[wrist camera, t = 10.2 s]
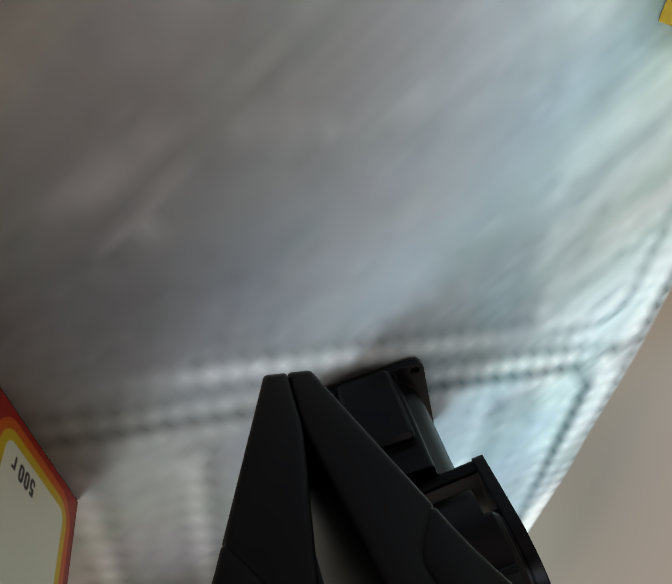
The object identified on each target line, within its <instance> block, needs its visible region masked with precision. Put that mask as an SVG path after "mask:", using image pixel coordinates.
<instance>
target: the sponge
mask: <svg viewBox="0 0 672 584" xmlns="http://www.w3.org/2000/svg"><path fill="white" fill-rule="evenodd" d="M659 21H660V22H662V23H665V24H668V25H671V26H672V0H667V1H666V3H665V6H664V8H663V11H662V13H661V16H660V18H659Z"/></svg>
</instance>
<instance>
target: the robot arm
mask: <svg viewBox="0 0 672 584" xmlns="http://www.w3.org/2000/svg"><path fill="white" fill-rule="evenodd" d="M413 367H414V368H413ZM222 545H223V547H222V548H221V550H220V554H219V558H218V562H217V566H216V570H215V574H214V577H213V581H212V584H551V583H550V580H549V578H548V575H547V573H546V571H545V568H544V566H543V564H542V562H541V560H540V557H539V555H538V553H537V551H536V549H535V547H534V545H533V543H532V541H531V539H530V537H529V535H528V533H527V531H526V529H525V527H524V525H523V524H522V522H521V520H520V518H519V516H518V515H517V513H516V511H515V510H514V508H513V506H512V505H511V503H510V501H509V499H508V498H507V496H506V494H505V493H504V491H503V489H502V488H501V486H500V484H499V482H498V481H497V479H496V477H495V476H494V474H493V472H492V471H491V469H490V467H489V465H488V464H487V462H486V460H485V459H484V457H483V455H480V456H477V457H475V458H473V459H472V461H471V462H468V463H466V464H463V465H461V466H459V467H456V468H454V466H453V464H452V462H451V460H450V458H449V456H448V454H447V451H446V449H445V447H444V445H443V443H442V441H441V439H440V436H439V434H438V432H437V430H436V428H435V426H434V422H433V417H432V411H431V406H430V400H429V395H428V389H427V384H426V378H425V372H424V367H423V365H422V363H421V361H420V360H419V359H418V358H412V359H409V360H406V361H403V362H400V363H397V364H394V365H391V366H388V367H385V368H382V369H379V370H377V371H374V372H371V373H368V374H365V375H362V376H359V377H356V378H353V379H350V380H347V381H345V382H342V383H339V384H336V385H333V386H330V387H327V388H326V387H325V386H324V385H323V384H322V383H321V381H320V380H319V379H318V378H317V377H316V376H315V375H314V374H313V373H312V372H311V371H300V372H291V373H289V374H288V376H287V375H286V374H284V373H282V374H273V375H266V376H265V377H264V378H263V382H262V386H261V390H260V394H259V398H258V402H257V406H256V410H255V414H254V418H253V422H252V426H251V430H250V434H249V438H248V442H247V446H246V450H245V454H244V458H243V462H242V466H241V470H240V474H239V478H238V482H237V486H236V490H235V495H234V499H233V503H232V507H231V511H230V515H229V519H228V523H227V527H226V531H225V535H224V539H223V543H222Z"/></svg>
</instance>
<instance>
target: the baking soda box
mask: <svg viewBox="0 0 672 584" xmlns="http://www.w3.org/2000/svg"><path fill="white" fill-rule="evenodd" d="M77 503H78V502H77V500H76V499H75V497H74V496H73V494H72V493H71V491H70V490H69V488H68V487H67V485H66V484H65V482H64V481H63V479H62V478H61V477H60V475H59V474H58V472H57V471H56V469H55V468H54V466H53V465H52V463H51V462H50V460H49V459H48V457H47V456H46V455H45V453H44V452H43V450H42V449H41V447H40V446H39V444H38V443H37V441H36V440H35V438H34V437H33V435H32V434H31V433H30V431H29V430H28V428H27V427H26V425H25V424H24V422H23V421H22V419H21V418H20V416H19V415H18V413H17V412H16V410H15V409H14V408H13V406H12V405H11V403H10V402H9V400H8V399H7V397H6V396H5V394H4V393H3V391H2V390H1V388H0V584H67V582H68V574H69V566H70V558H71V550H72V542H73V535H74V527H75V519H76V511H77Z"/></svg>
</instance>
